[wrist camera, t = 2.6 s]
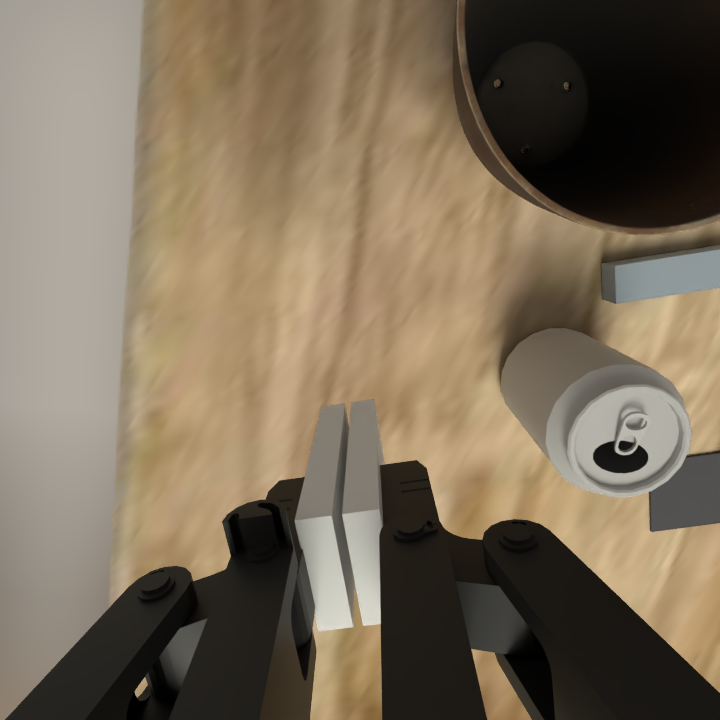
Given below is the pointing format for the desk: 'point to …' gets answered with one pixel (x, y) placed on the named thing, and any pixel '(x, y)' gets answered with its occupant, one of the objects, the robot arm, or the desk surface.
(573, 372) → the can
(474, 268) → the desk surface
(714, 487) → the trap square
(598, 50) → the dark brown curved piece
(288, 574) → the robot arm
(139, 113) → the desk surface
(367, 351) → the desk surface
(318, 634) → the desk surface
